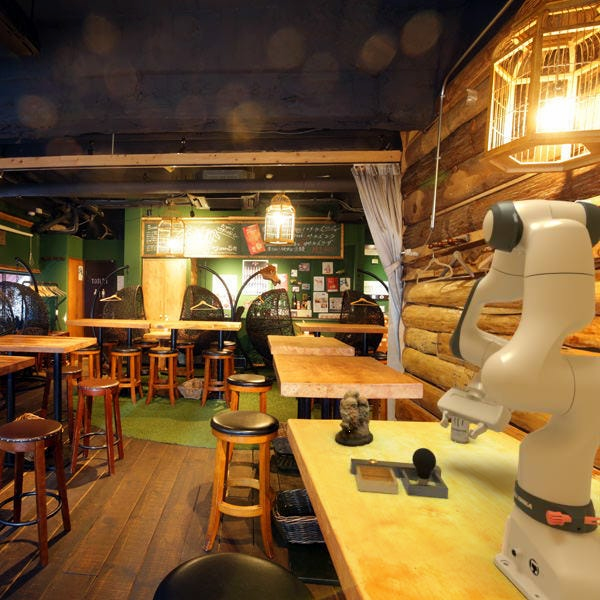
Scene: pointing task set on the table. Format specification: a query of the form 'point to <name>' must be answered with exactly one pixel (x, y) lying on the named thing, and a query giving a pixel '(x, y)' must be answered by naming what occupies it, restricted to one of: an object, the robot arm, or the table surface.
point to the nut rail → (377, 473)
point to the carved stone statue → (354, 420)
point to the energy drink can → (459, 430)
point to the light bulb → (424, 464)
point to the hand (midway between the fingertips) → (456, 431)
